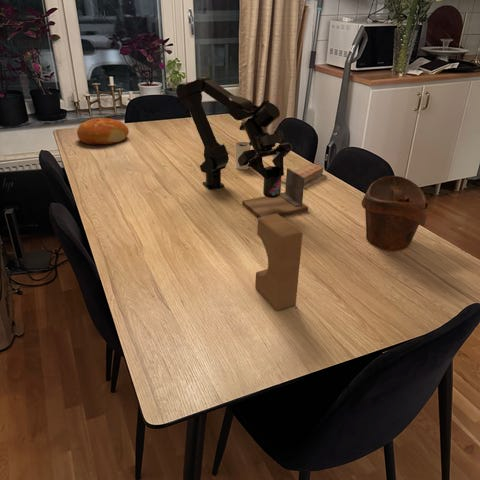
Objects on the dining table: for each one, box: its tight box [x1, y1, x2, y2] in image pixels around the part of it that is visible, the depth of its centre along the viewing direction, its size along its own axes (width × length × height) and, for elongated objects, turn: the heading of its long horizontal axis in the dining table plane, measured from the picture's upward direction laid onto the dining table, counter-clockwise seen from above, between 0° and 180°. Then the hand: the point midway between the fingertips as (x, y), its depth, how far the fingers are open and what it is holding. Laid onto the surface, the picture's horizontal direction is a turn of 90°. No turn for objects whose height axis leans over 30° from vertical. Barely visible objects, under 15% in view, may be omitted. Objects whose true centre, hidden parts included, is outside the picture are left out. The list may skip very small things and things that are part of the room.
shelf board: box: [241, 167, 309, 219], centre depth 154 cm, size 14×18×12 cm
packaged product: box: [281, 163, 328, 189], centre depth 179 cm, size 18×5×10 cm
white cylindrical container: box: [234, 140, 252, 170], centre depth 189 cm, size 7×7×10 cm
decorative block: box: [254, 214, 303, 311], centre depth 108 cm, size 11×6×20 cm, turn 26°
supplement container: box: [262, 165, 283, 198], centre depth 150 cm, size 6×6×9 cm
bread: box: [76, 117, 130, 146], centre depth 218 cm, size 23×23×10 cm
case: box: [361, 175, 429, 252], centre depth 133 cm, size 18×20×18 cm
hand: (275, 177), depth 148 cm, fingers closed on supplement container, 6 cm apart
